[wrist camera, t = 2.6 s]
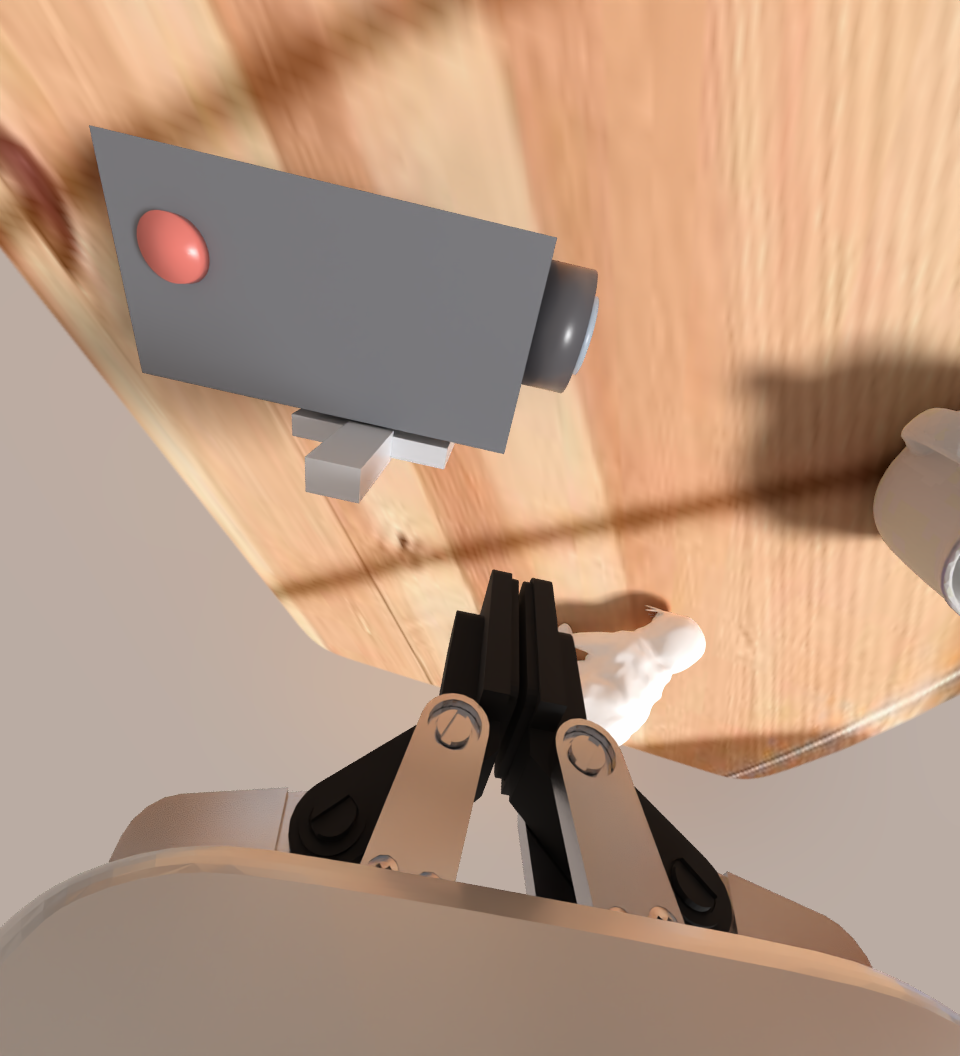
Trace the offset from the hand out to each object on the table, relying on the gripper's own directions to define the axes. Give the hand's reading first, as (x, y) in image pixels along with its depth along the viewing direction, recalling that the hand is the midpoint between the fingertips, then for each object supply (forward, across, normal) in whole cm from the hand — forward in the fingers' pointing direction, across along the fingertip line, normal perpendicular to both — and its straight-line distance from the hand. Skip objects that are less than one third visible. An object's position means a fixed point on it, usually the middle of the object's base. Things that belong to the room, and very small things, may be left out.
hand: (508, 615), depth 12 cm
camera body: (+15, +7, -6) cm, 18 cm away
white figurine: (+16, -11, +13) cm, 24 cm away
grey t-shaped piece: (+15, +7, -1) cm, 17 cm away
